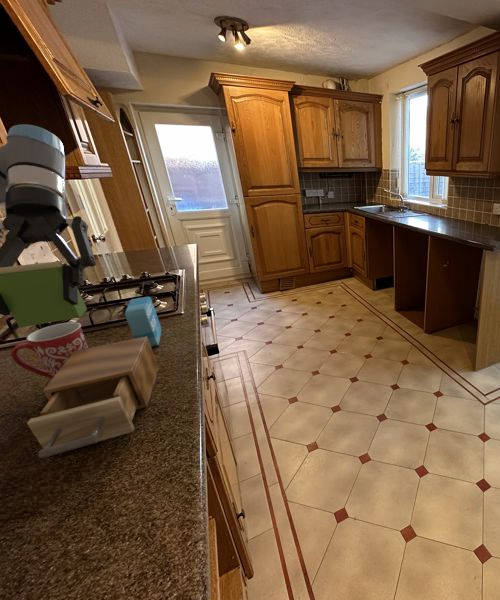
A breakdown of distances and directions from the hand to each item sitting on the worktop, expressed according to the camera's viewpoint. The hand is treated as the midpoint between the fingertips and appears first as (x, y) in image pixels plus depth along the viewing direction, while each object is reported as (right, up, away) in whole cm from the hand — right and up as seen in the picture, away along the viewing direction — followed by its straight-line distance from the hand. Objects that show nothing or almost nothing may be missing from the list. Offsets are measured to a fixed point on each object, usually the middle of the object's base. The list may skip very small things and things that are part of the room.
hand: (36, 306), depth 54 cm
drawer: (+2, -24, +9) cm, 26 cm away
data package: (-13, -11, +42) cm, 45 cm away
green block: (-1, -2, +4) cm, 5 cm away
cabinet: (-3, -21, +19) cm, 29 cm away
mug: (-20, -19, +24) cm, 37 cm away
